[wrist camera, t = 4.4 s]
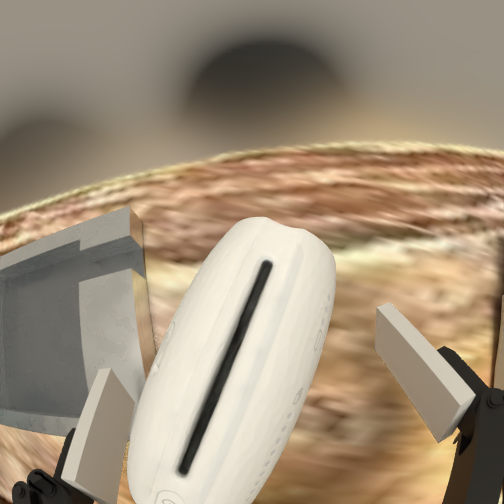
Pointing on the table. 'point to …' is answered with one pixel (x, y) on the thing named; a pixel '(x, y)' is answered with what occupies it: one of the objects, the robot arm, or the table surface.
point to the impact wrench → (500, 355)
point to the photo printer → (233, 368)
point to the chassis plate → (73, 321)
